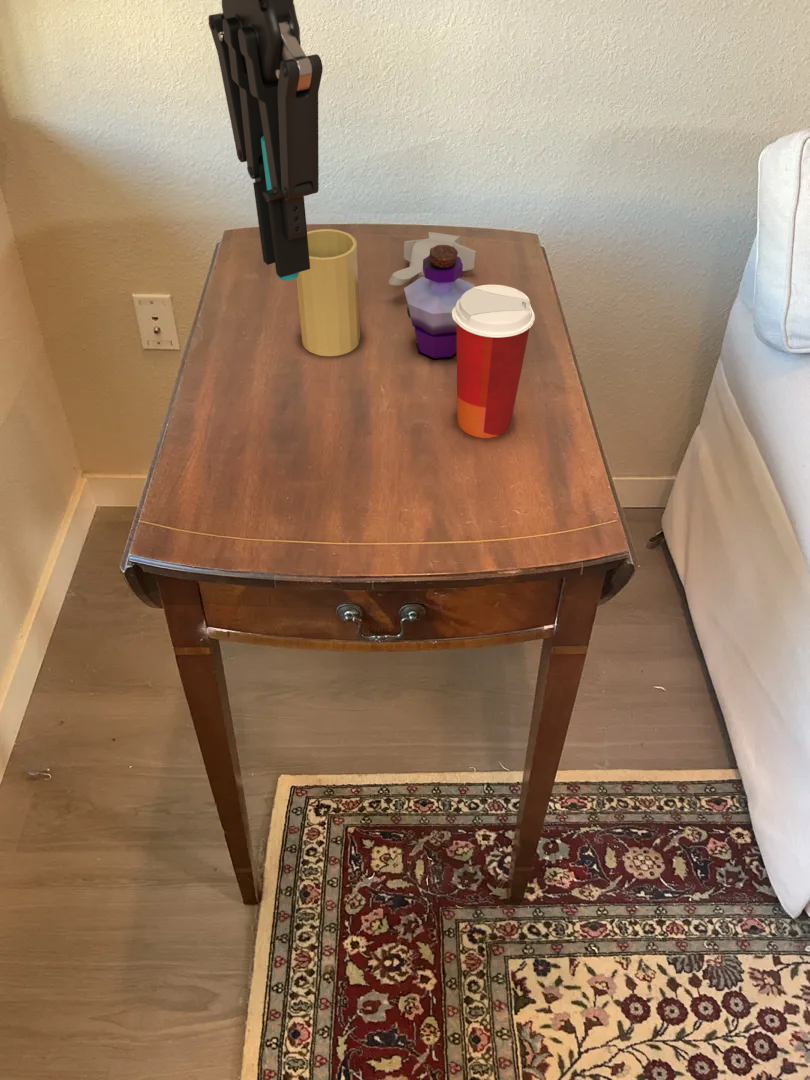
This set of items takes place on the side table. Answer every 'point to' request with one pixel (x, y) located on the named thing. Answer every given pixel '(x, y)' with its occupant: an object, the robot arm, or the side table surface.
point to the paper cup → (490, 356)
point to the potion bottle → (437, 303)
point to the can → (330, 294)
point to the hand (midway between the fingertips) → (286, 264)
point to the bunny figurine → (421, 250)
